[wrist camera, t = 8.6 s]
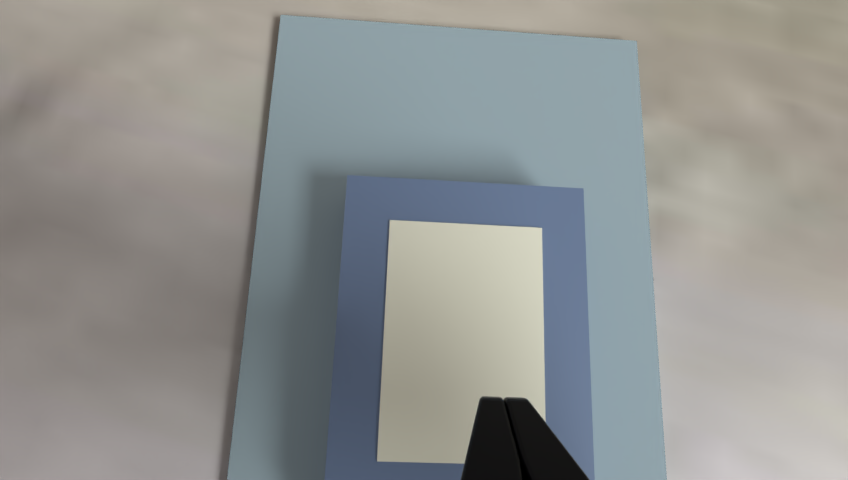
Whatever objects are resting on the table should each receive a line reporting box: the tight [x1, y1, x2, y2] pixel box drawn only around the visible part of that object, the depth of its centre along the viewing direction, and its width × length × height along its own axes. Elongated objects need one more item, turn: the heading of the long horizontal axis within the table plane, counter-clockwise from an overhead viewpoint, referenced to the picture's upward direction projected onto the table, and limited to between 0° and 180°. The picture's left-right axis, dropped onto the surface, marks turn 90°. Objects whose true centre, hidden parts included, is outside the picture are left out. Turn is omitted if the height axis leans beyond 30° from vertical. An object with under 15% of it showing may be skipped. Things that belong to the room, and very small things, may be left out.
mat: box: [227, 15, 667, 480], centre depth 17 cm, size 16×13×1 cm
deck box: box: [325, 175, 595, 480], centre depth 15 cm, size 2×7×10 cm
